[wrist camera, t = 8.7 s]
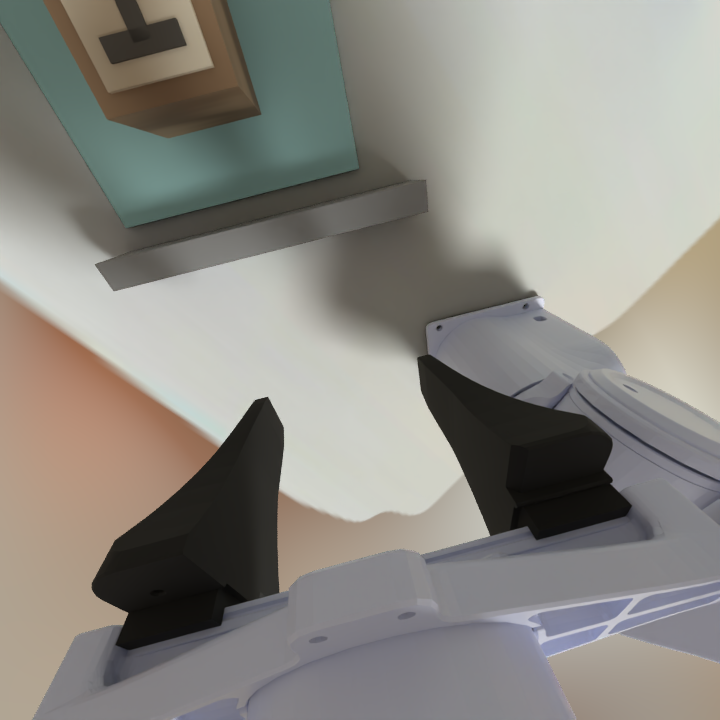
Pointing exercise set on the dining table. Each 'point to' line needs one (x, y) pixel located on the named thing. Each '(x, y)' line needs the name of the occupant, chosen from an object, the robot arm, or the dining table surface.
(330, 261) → the dining table surface
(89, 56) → the letter cube
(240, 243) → the long grey bar
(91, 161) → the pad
